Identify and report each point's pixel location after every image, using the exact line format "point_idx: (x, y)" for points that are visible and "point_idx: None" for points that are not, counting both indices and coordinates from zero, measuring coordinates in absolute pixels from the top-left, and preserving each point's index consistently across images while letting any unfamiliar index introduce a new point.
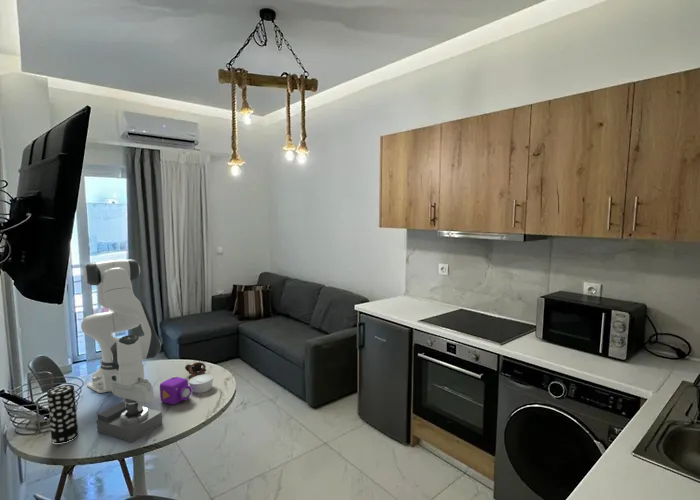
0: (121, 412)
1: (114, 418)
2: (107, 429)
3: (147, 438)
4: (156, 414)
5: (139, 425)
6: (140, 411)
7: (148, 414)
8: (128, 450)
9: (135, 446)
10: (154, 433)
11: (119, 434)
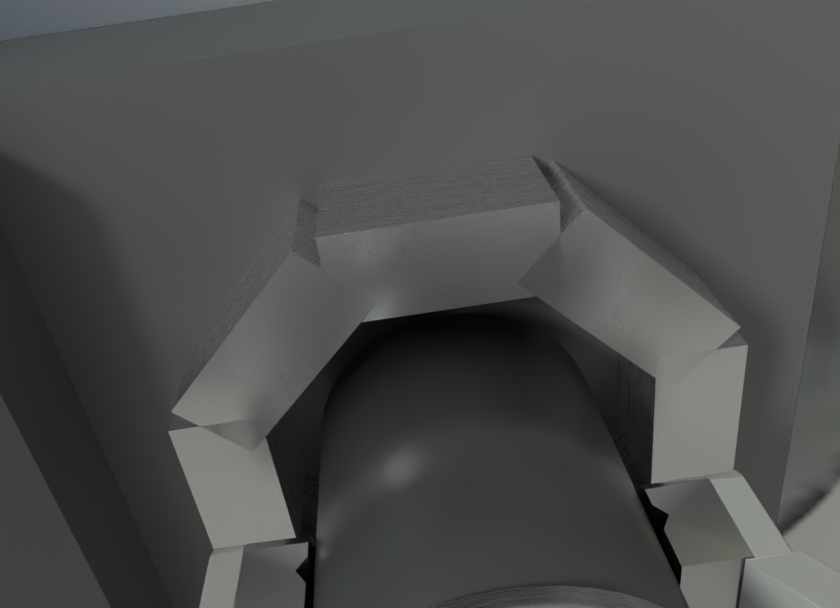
0: (99, 506)
1: (163, 575)
2: None
3: (818, 311)
4: (819, 107)
5: (782, 463)
6: (600, 414)
7: (629, 203)
8: (783, 516)
9: (801, 455)
10: None
11: None
